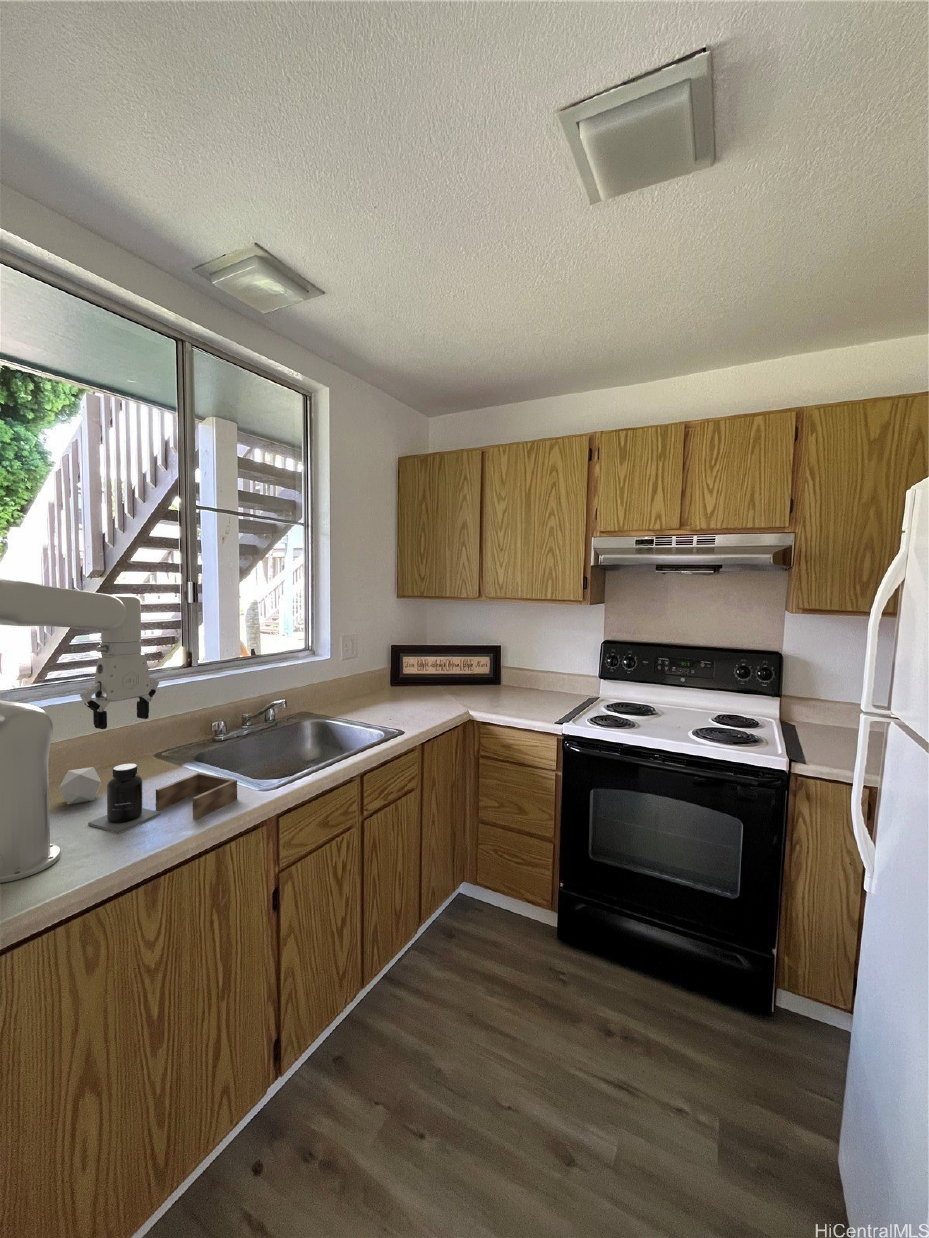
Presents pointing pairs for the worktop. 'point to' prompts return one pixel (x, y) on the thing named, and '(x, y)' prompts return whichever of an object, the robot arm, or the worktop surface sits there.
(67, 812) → the worktop surface
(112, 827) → the pad
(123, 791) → the supplement bottle
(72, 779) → the die
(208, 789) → the cubby
